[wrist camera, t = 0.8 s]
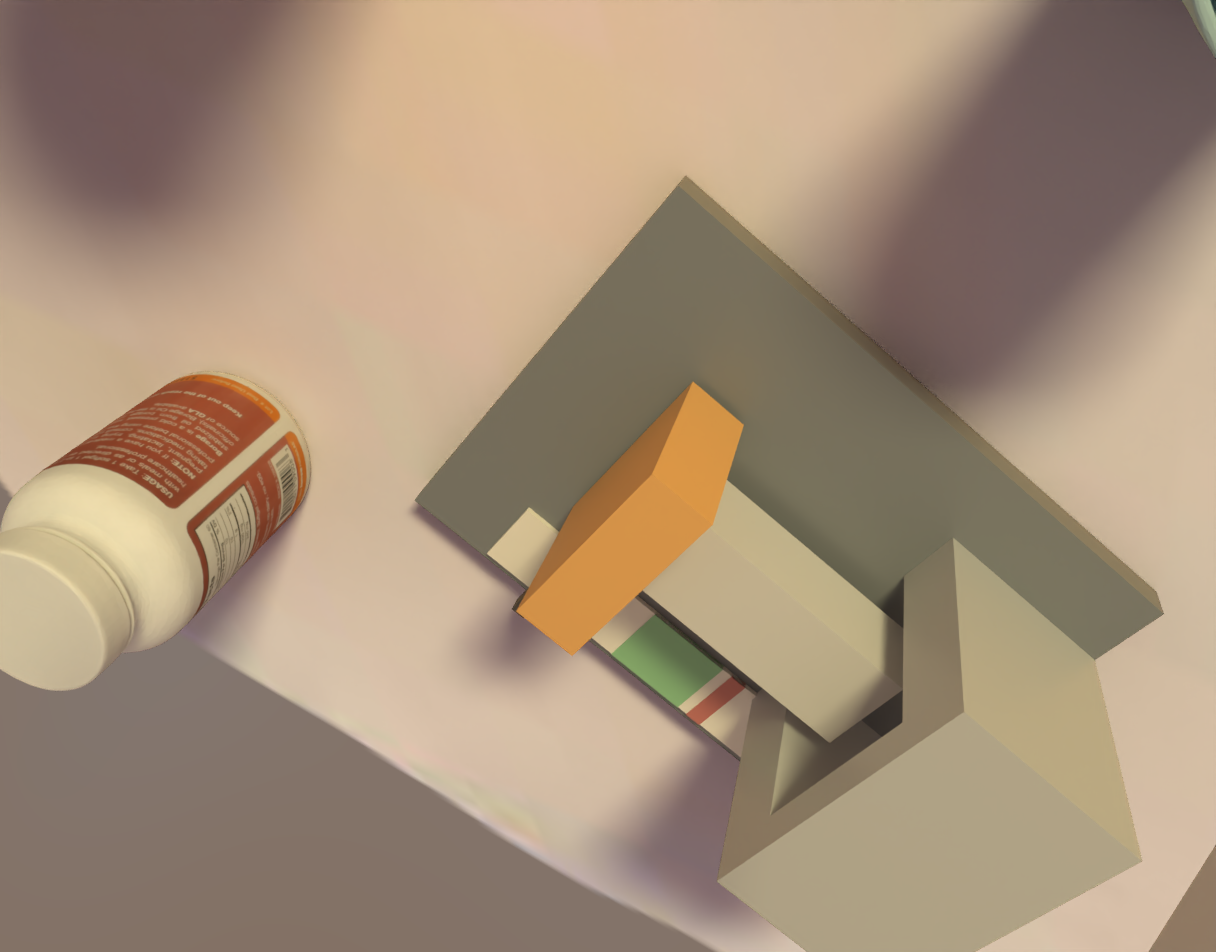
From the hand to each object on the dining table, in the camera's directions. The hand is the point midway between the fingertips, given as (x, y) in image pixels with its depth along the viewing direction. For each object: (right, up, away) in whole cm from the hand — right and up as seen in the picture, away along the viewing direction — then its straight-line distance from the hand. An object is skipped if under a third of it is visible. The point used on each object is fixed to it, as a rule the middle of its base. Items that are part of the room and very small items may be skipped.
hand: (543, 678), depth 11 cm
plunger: (+4, -1, +25) cm, 25 cm away
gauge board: (+6, 0, +25) cm, 25 cm away
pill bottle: (-13, +3, +29) cm, 31 cm away
